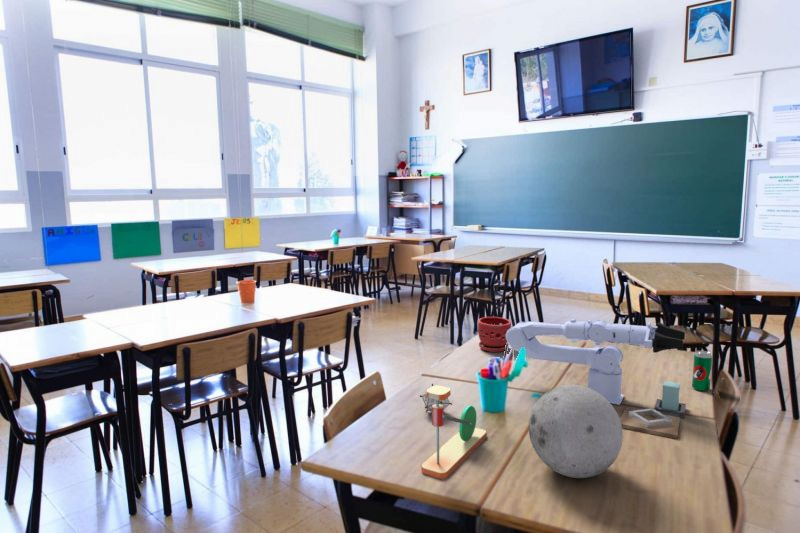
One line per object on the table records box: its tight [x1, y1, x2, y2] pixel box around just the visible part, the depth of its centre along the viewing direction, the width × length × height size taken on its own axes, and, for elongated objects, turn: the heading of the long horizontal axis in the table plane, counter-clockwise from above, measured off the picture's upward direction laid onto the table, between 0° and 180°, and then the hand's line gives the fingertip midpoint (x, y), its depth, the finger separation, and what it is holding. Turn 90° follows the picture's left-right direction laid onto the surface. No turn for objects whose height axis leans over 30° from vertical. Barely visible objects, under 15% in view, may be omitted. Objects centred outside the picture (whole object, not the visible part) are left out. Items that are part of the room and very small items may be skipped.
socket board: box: [619, 407, 681, 440], centre depth 142 cm, size 14×12×2 cm
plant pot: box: [477, 316, 512, 353], centre depth 211 cm, size 13×13×12 cm
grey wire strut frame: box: [419, 383, 453, 413], centre depth 151 cm, size 9×8×10 cm
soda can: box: [691, 350, 713, 392], centre depth 165 cm, size 5×5×12 cm
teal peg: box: [661, 380, 681, 411], centre depth 150 cm, size 4×4×8 cm
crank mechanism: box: [420, 385, 487, 479], centre depth 128 cm, size 25×7×19 cm, turn 148°
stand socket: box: [653, 398, 686, 419], centre depth 150 cm, size 8×8×2 cm
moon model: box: [528, 384, 624, 479], centre depth 118 cm, size 20×20×20 cm
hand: (683, 339), depth 147 cm, fingers open, 7 cm apart
